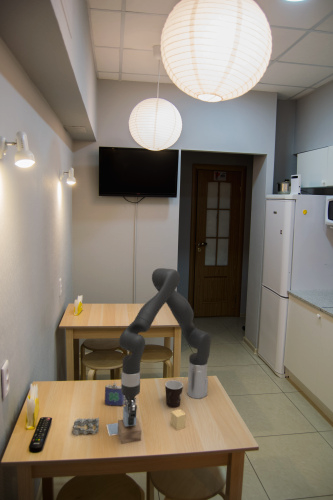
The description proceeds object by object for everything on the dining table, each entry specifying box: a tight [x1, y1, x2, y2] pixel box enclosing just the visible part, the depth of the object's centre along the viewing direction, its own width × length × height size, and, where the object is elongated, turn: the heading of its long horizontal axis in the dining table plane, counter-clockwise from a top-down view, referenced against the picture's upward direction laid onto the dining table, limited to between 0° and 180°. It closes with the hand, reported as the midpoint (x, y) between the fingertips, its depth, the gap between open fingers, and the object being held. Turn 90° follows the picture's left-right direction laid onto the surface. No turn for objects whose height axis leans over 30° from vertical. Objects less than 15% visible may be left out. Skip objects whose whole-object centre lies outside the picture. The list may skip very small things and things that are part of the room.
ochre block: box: [170, 408, 187, 431], centre depth 154 cm, size 4×4×6 cm
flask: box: [104, 382, 125, 407], centre depth 168 cm, size 9×3×11 cm, turn 87°
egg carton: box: [72, 417, 100, 437], centre depth 149 cm, size 11×8×4 cm
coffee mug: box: [164, 379, 184, 409], centre depth 170 cm, size 12×9×10 cm
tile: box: [106, 422, 119, 436], centre depth 150 cm, size 8×8×1 cm
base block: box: [117, 416, 142, 445], centre depth 146 cm, size 8×8×5 cm
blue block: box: [122, 405, 137, 427], centre depth 145 cm, size 4×4×6 cm
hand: (129, 420), depth 145 cm, fingers open, 4 cm apart
